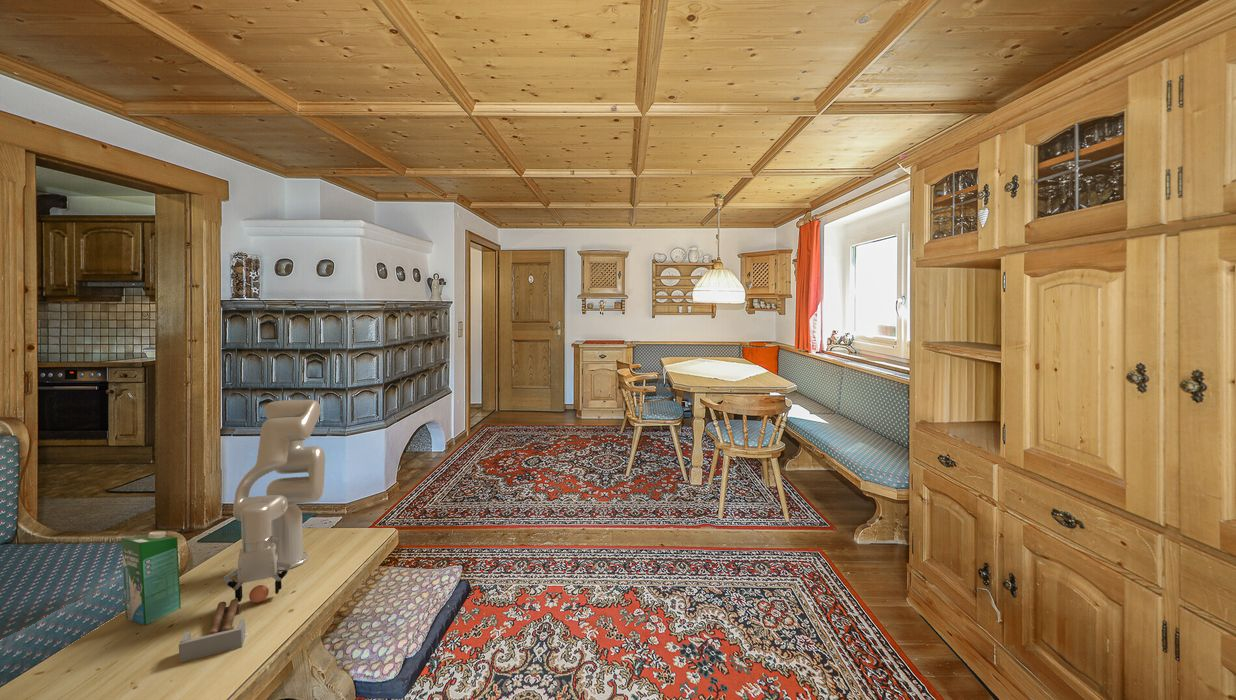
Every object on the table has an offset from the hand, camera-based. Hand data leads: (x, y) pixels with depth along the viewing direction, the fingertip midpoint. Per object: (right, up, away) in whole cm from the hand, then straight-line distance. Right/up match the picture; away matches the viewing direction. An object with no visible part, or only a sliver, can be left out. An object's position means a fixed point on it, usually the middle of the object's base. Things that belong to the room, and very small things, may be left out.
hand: (259, 595), depth 152 cm
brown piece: (-2, -3, -11) cm, 11 cm away
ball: (0, +1, 0) cm, 1 cm away
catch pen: (+4, -3, -22) cm, 22 cm away
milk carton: (-27, -2, -7) cm, 28 cm away
